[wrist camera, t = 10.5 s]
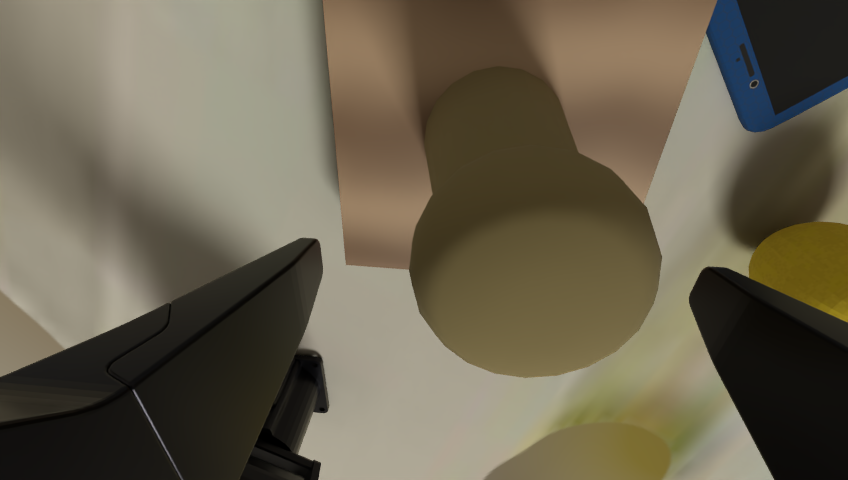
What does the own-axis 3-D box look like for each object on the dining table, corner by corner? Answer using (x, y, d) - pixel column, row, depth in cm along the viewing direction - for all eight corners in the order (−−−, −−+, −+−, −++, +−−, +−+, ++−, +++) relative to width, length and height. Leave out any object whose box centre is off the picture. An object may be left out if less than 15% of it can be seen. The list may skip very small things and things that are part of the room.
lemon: (702, 235, 22) (809, 335, 16) (811, 177, 20) (991, 264, 13) (740, 293, 24) (850, 406, 17) (843, 246, 22) (1016, 353, 15)
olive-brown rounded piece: (398, 159, 17) (323, 337, 8) (481, 31, 14) (523, 71, 5) (503, 228, 19) (548, 452, 9) (599, 124, 16) (804, 293, 6)
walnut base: (591, 243, 23) (614, 284, 20) (362, 228, 24) (346, 264, 21) (678, -43, 16) (738, -58, 13) (345, -53, 17) (316, -69, 13)
